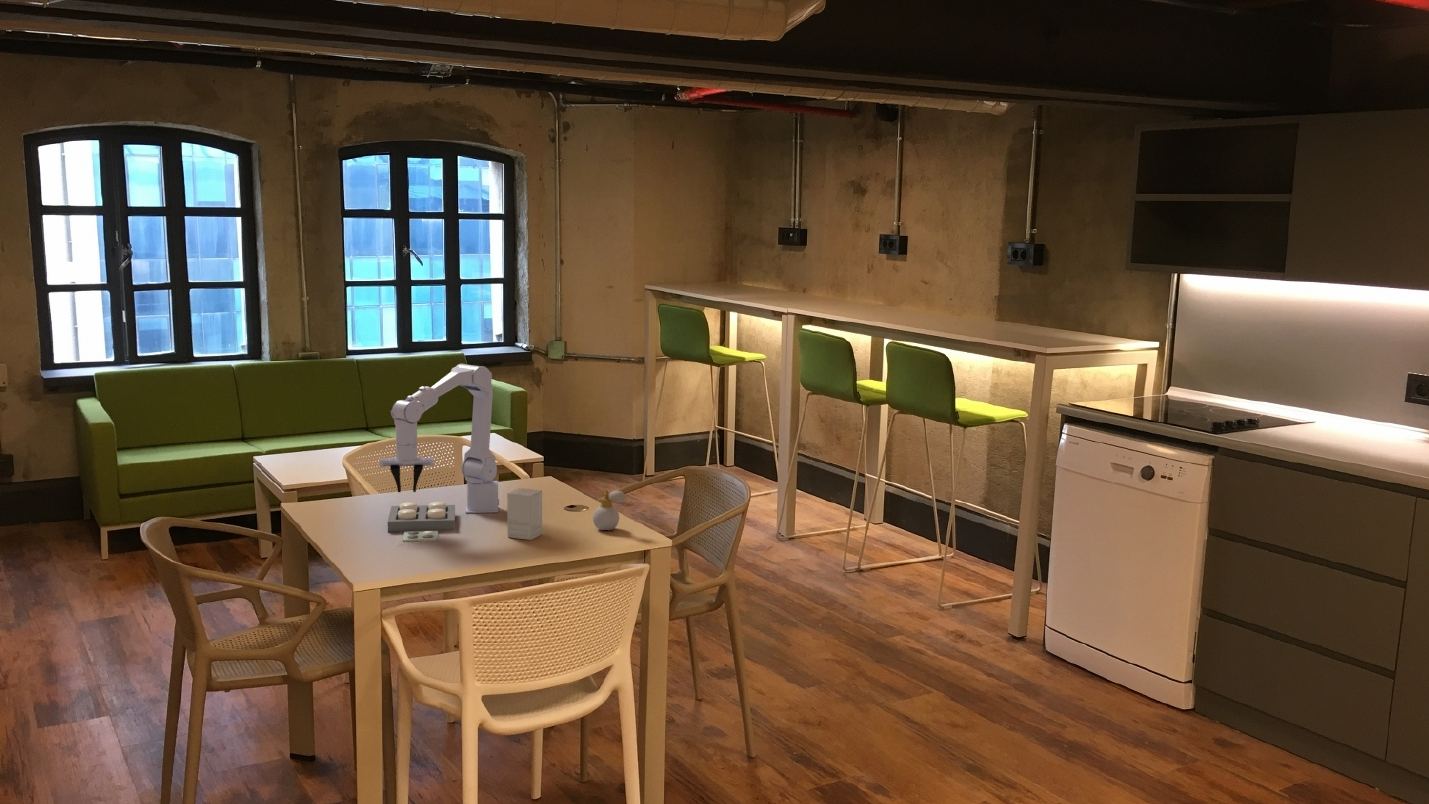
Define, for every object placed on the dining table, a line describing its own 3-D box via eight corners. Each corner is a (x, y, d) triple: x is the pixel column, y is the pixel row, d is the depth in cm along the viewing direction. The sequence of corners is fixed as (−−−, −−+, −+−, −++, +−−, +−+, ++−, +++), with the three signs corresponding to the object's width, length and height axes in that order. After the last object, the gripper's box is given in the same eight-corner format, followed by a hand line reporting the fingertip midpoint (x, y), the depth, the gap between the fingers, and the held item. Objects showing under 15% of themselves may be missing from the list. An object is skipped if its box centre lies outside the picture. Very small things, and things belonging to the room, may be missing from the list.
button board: (455, 514, 344) (455, 504, 344) (454, 530, 327) (454, 520, 327) (391, 516, 341) (391, 506, 340) (387, 532, 323) (387, 521, 323)
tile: (437, 532, 325) (437, 529, 325) (437, 540, 316) (437, 538, 316) (404, 532, 323) (404, 530, 323) (402, 541, 315) (402, 539, 314)
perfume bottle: (597, 525, 338) (598, 484, 336) (630, 528, 336) (630, 487, 334) (588, 531, 331) (589, 490, 329) (621, 534, 328) (622, 493, 327)
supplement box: (543, 534, 327) (543, 489, 325) (530, 540, 320) (530, 495, 318) (519, 531, 329) (519, 487, 327) (506, 537, 322) (506, 492, 320)
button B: (445, 517, 333) (445, 508, 333) (445, 521, 329) (445, 512, 328) (428, 517, 332) (427, 508, 332) (427, 522, 328) (427, 512, 327)
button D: (445, 510, 341) (445, 501, 341) (445, 514, 336) (445, 505, 336) (428, 510, 340) (428, 502, 340) (428, 514, 335) (428, 506, 335)
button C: (417, 511, 339) (417, 502, 339) (416, 515, 335) (416, 506, 334) (400, 511, 338) (400, 502, 338) (399, 515, 334) (399, 506, 333)
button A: (416, 517, 332) (416, 509, 331) (415, 522, 327) (415, 513, 327) (398, 518, 331) (398, 509, 330) (397, 522, 326) (397, 513, 326)
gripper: (378, 446, 320) (379, 495, 322) (433, 446, 323) (433, 494, 325) (380, 441, 327) (380, 489, 329) (433, 441, 330) (433, 488, 332)
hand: (407, 491), depth 328 cm, fingers open, 3 cm apart
